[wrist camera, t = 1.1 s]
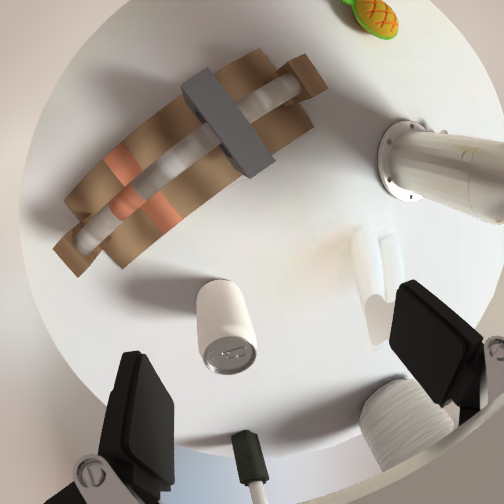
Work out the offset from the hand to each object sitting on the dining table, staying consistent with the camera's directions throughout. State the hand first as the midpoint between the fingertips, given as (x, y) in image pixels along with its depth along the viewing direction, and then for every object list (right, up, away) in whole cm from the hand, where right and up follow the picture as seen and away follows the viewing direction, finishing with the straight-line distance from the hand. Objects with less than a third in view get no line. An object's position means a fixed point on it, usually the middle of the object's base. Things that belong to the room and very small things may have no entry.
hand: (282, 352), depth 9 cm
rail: (-9, +15, +21) cm, 27 cm away
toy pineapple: (+15, +38, +17) cm, 44 cm away
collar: (-4, +16, +18) cm, 24 cm away
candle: (-3, -39, +45) cm, 60 cm away
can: (-6, -3, +29) cm, 30 cm away
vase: (+34, -35, +51) cm, 70 cm away
